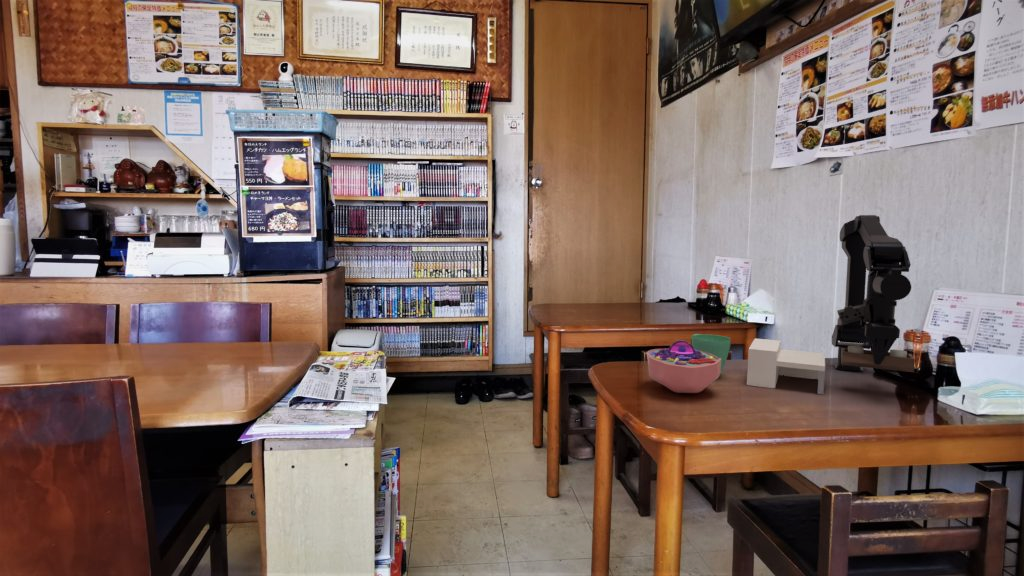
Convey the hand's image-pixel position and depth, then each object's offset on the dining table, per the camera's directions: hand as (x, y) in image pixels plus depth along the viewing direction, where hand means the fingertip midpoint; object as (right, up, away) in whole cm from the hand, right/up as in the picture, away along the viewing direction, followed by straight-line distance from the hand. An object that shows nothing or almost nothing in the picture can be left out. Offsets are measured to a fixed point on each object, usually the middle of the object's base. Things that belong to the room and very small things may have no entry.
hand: (876, 361), depth 132 cm
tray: (0, -1, 0) cm, 1 cm away
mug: (-34, -6, +18) cm, 39 cm away
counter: (-17, -6, +9) cm, 20 cm away
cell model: (-45, -7, +1) cm, 46 cm away
